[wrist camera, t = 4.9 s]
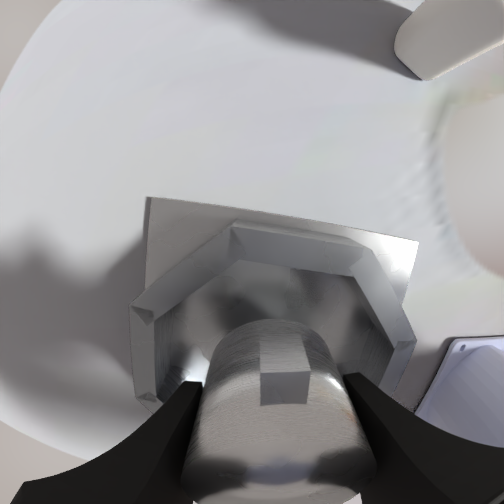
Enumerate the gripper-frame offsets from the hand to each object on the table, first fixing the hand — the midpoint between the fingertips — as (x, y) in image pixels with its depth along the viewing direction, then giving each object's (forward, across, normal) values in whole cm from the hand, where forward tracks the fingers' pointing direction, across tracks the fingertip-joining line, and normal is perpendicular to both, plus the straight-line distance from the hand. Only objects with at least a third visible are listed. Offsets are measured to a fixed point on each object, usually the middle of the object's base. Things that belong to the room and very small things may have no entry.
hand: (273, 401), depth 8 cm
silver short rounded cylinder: (+2, 0, 0) cm, 2 cm away
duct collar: (+4, 0, 0) cm, 4 cm away
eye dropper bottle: (+4, -9, -16) cm, 19 cm away
